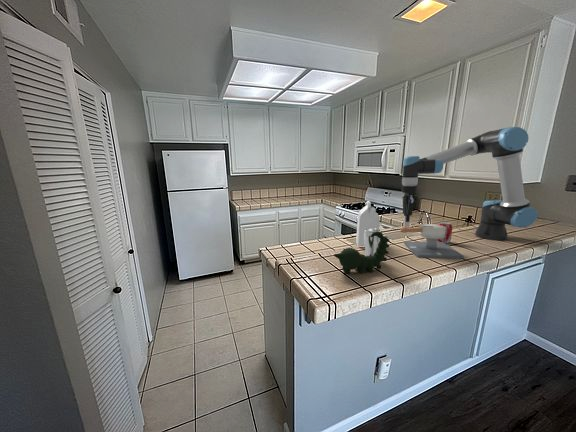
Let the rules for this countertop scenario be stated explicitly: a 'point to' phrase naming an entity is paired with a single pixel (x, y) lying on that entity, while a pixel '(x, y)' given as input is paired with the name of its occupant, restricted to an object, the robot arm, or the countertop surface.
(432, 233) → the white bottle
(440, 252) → the post base
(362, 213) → the milk
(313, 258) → the countertop surface
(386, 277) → the countertop surface
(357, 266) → the toy figurine
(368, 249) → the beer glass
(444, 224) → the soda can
